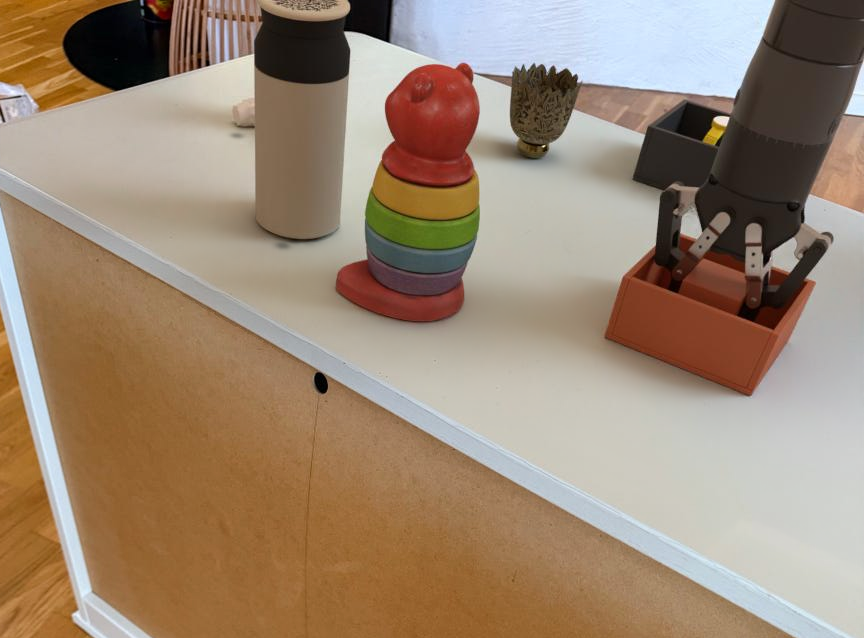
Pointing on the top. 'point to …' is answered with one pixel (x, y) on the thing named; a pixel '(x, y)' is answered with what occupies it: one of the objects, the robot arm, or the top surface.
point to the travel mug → (300, 115)
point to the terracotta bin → (702, 324)
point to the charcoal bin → (678, 147)
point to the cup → (541, 107)
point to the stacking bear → (421, 201)
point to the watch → (716, 129)
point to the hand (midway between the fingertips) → (701, 329)
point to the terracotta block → (715, 286)
